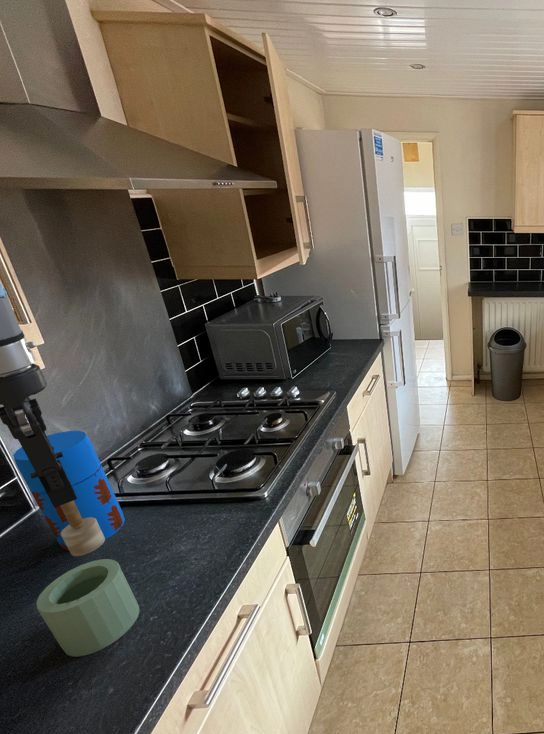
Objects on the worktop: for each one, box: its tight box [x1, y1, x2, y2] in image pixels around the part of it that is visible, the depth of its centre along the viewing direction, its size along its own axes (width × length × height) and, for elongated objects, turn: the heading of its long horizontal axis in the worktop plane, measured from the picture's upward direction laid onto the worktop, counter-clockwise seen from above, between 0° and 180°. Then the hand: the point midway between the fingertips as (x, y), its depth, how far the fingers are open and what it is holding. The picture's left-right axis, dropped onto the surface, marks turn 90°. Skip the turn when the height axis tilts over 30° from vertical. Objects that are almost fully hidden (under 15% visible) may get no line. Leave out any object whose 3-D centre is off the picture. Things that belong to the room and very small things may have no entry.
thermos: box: [13, 430, 126, 552], centre depth 90 cm, size 11×11×25 cm
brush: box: [61, 500, 106, 557], centre depth 69 cm, size 4×4×19 cm
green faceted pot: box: [35, 558, 140, 658], centre depth 73 cm, size 10×10×11 cm
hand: (64, 499), depth 69 cm, fingers closed on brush, 2 cm apart
